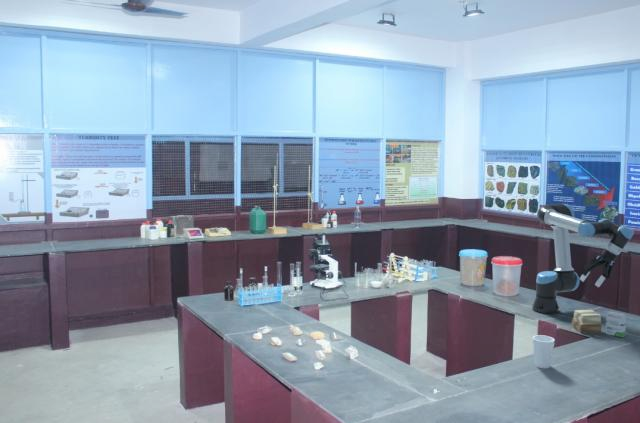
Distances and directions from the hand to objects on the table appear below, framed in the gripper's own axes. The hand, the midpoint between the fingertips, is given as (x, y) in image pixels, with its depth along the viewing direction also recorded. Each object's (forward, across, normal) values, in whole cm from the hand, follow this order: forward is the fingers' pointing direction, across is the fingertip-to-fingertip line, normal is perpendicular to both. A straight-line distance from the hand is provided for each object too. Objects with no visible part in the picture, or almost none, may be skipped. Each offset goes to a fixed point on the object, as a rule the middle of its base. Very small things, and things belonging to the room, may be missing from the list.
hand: (589, 283), depth 314 cm
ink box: (+15, +9, -24) cm, 30 cm away
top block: (+17, +1, -12) cm, 21 cm away
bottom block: (+22, +3, -14) cm, 26 cm away
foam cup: (+32, -54, -44) cm, 77 cm away
